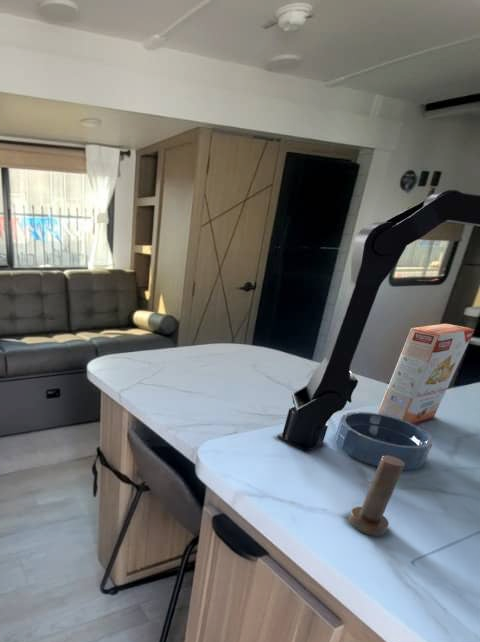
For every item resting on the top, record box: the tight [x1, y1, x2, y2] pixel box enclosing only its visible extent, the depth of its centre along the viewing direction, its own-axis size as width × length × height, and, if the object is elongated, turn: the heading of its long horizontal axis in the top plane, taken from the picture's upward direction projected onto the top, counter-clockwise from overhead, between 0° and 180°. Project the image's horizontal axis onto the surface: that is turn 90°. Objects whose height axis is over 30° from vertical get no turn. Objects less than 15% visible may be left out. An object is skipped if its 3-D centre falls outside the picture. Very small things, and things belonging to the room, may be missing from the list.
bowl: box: [334, 411, 434, 471], centre depth 77 cm, size 15×15×5 cm
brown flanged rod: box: [348, 456, 405, 537], centre depth 56 cm, size 5×5×11 cm
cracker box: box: [377, 323, 475, 424], centre depth 88 cm, size 14×6×21 cm, turn 117°
